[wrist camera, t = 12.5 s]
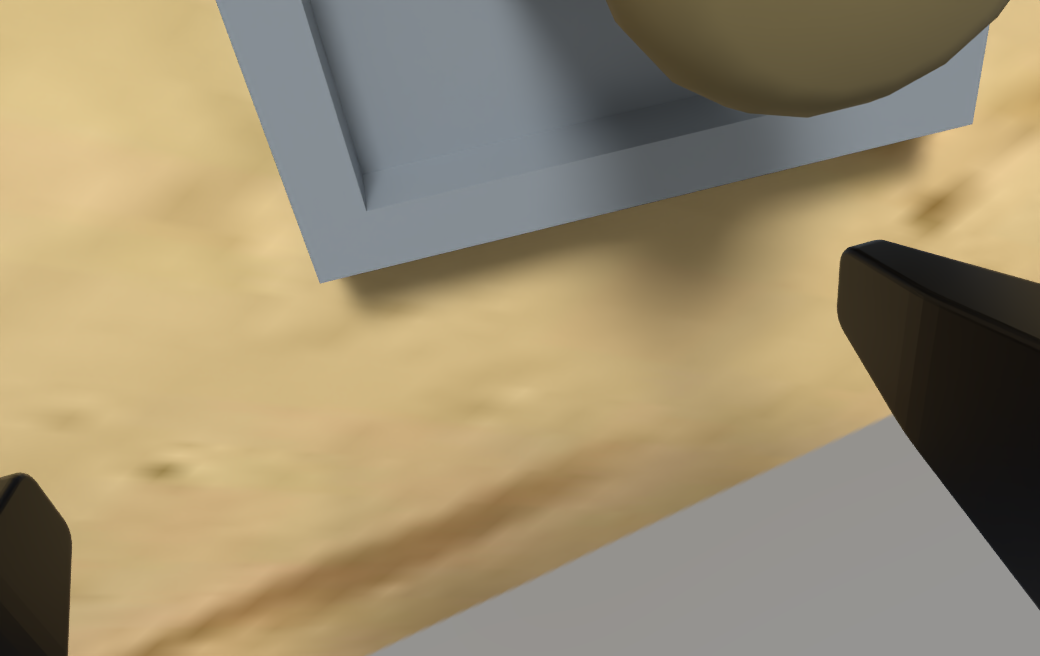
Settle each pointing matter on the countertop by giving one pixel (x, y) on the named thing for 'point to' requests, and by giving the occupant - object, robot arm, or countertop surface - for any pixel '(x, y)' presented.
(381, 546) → the countertop surface
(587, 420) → the countertop surface
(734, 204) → the countertop surface
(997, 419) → the robot arm
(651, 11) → the cork
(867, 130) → the tray
